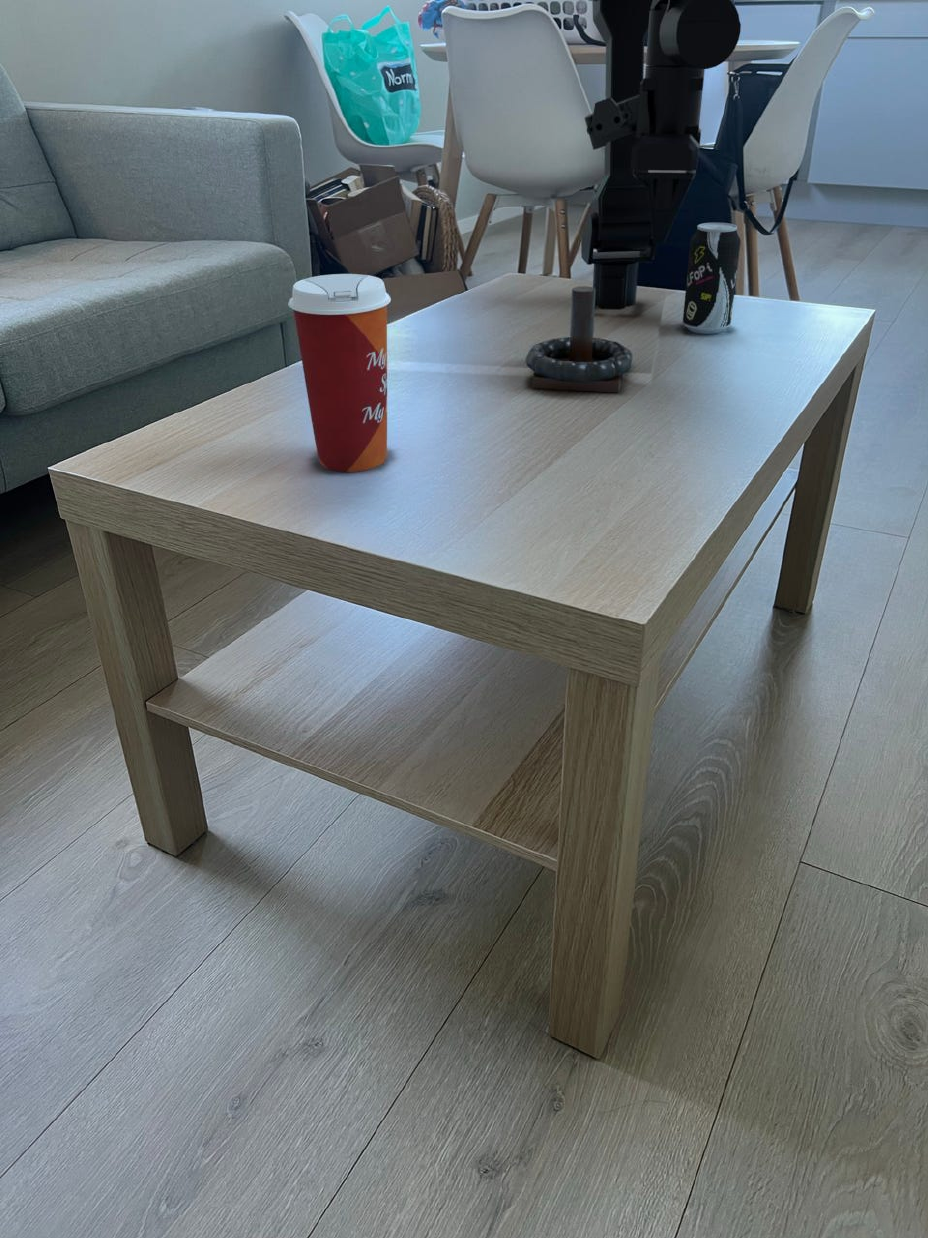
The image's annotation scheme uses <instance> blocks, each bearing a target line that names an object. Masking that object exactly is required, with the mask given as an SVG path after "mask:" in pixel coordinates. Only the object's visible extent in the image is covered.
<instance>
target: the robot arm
mask: <svg viewBox="0 0 928 1238" xmlns="http://www.w3.org/2000/svg"><path fill="white" fill-rule="evenodd" d="M588 1H589V2H590V1H591V2H592V4H591V5H592V21H593V24H594V26H595V27H596V29H597V31H598V33H599V34H600V36H601V38H602V40H603V42H604V44H605V97H604V99H602V100H599V101H596V102H595V103H594V107H593V112H592V113H589V114H587V115H586V116H585V117H584V122H585V126H586V133H587V135H588V136H589V139H590V143H591V146H592V150H593V151H594V150H598V149H601V148H603V147H604V177H603V180H602V181H601V182H600V185H599V187H598V189H597V190H596V192H595V194H594V196H593V198H592V199H591V204H590V205H591V206H590V207H591V208H590V209H591V210H590V212H589V213H588V214H587V217H586V221H585V225H584V229H583V233H582V235H581V236H582V237H581V242H580V247H581V250H580V251H581V252H580V253H581V259H582V260H583V261H584V263H585V264H586V265H588V266H591V265H593V275H592V276H593V277H592V287H593V288H595V289H596V293H595V306H597V307H598V308H599V309H601V310H616V311H617V310H618V311H619V310H620V311H622V310H623V309H626V308H627V307H632V306H634V305H635V304H636V302H637V292H638V291H637V290H638V278H639V277H638V276H639V264H640V263H648V264H649V263H650V264H652V263H653V261H654V260H655V254H656V250H657V244H664V243H666V240H667V237H668V235H669V233H670V231H671V228H672V226H673V225H674V222H675V219H676V218H677V215H678V213H679V211H680V209H681V207H682V205H683V202H684V200H685V198H686V196H687V194H688V192H689V190H690V187H691V185H692V183H693V181H694V179H695V176H696V173H697V170H698V163H699V152H700V146H701V138H702V137H701V136H702V129H701V128H700V124H701V123H700V122H701V113H702V112H701V111H702V103H703V102H702V101H703V100H702V99H703V91H704V82H705V70H709V69H713V68H716V67H717V66H720V65H721V64H723V63H724V62H725V61H726V60H727V59H729V57H730V56H731V55H732V54H733V52H734V51H735V50H736V47H737V45H738V43H739V40H740V35H741V31H742V30H741V29H742V24H741V20H740V14H739V12H738V9H737V7H736V5H735V4H734V3H733V2H732V0H588ZM646 34H647V43H646V56H645V36H646ZM645 57H646V59H645ZM644 69H645V71H644ZM644 72H645V73H644ZM594 250H596V251H594Z"/></svg>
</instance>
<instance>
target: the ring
mask: <svg viewBox="0 0 928 1238" xmlns="http://www.w3.org/2000/svg"><path fill="white" fill-rule="evenodd" d="M569 353H570V336H567V337H555V338H550V339H547V340H544V341H541V342H538V343H535V344H533V345H532V346H531V347H530V349H529V351H528V352H527V354H526V357H525V364H526V366H527V367H528V369H529V370H531V371H532V372H534V373H536V374H537V375H539V376H542V377H546V378H550V379H554V380H557V381H566V382H594V381H603V380H610V379H612V378H615V377H617V376H620V375H622V374H623V375H624V374H626V373H628V372H629V370H630V369H631V366H632V362H633V353H632V351H631V350H630V349H629V348H628V347H626V346H624V345H623V344H621V343H619V342H618V341H614V340H609V339H605V338H600V337H593V349H592V357H597V358H602V359H606V360H600V361H591V362H572V361H561V360H557V359H553V358H557V357H565V356H569Z"/></svg>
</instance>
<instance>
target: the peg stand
mask: <svg viewBox="0 0 928 1238" xmlns="http://www.w3.org/2000/svg"><path fill="white" fill-rule="evenodd" d="M595 293H596V289H595V288H593V286H587V285H586V286H585V285H582V286H581V285H579V286H575V287H572V288H571V303H570V304H571V305H570V307H571V308H570V328H569V329H570V331H569V337H570V353H569V356H565V357H557V358H553V359H557V360H561V361H572V362H591V361H600V360H606V359H602V358H597V357H592V349H593V338H594V332H595V331H594V330H595V329H594V328H595V326H594V325H595V312H596V311H595V310H596V309H595V307H596V305H595ZM623 377H624V374H622V375H620V376H617V377H615V378H612V379H610V380H603V381H594V382H566V381H557V380H554V379H550V378H546V377H542V376H539V375H537V374H536V373H535V372H534V373H533V374H532V376H531V389H539V390H556V391H557V390H558V391H579V392H597V393H614V394H615V393H616V394H618V393H619V391H620V389H621V384H622V380H623Z"/></svg>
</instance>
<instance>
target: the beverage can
mask: <svg viewBox="0 0 928 1238" xmlns="http://www.w3.org/2000/svg"><path fill="white" fill-rule="evenodd" d="M696 227H697V228H696V231H695V233H694V234H693V235H692V237H691V239H690V244H689V254H688V265H687V273H686V282H685V283H686V284H685V294H684V306H683V315H682V324H683V326H684V327H686V328H687V329H688V331H690V332H693V333H696V334H701V335H702V334H705V335H712V334H720V333H721V332H723V331H724V330H725V329H728V328H729V327H730V326H731V324H732V317H733V316H732V314H733V307H734V299H735V292H736V285H737V284H736V283H737V277H738V269H739V260H740V253H741V244H742V241H741V237H740V236H739V234H738V231H737V230H738V226H737V224H733V223H728V222H704V223H700V224H698V225H696Z"/></svg>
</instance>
